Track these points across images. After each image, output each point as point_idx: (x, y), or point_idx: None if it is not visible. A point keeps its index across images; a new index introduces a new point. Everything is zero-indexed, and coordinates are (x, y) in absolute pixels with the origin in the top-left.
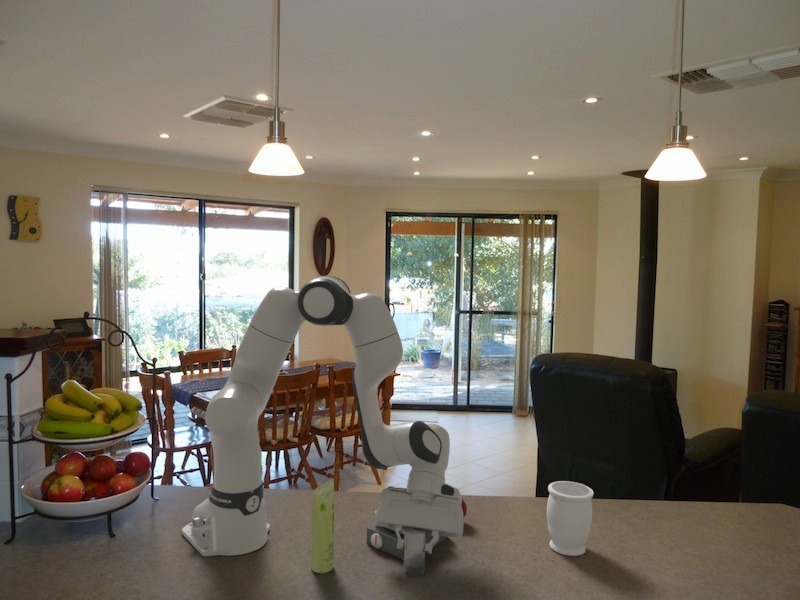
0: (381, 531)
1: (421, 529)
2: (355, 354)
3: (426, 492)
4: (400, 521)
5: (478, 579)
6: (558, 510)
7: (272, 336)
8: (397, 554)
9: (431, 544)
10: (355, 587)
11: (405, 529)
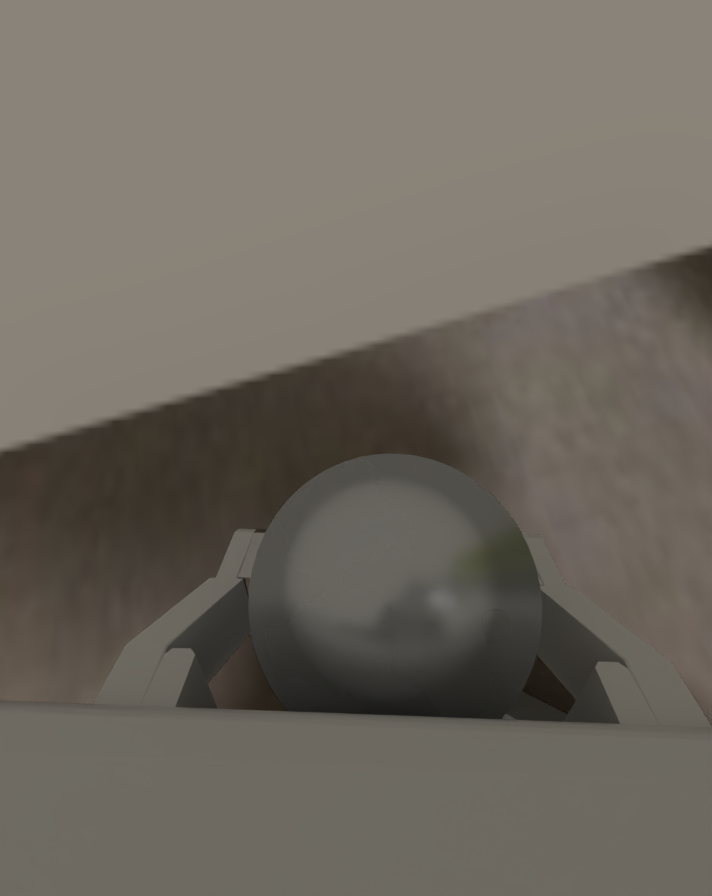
0: None
1: (322, 692)
2: None
3: None
4: (705, 773)
5: (19, 573)
6: None
7: None
8: (527, 697)
9: (218, 570)
10: (623, 320)
11: (538, 624)
